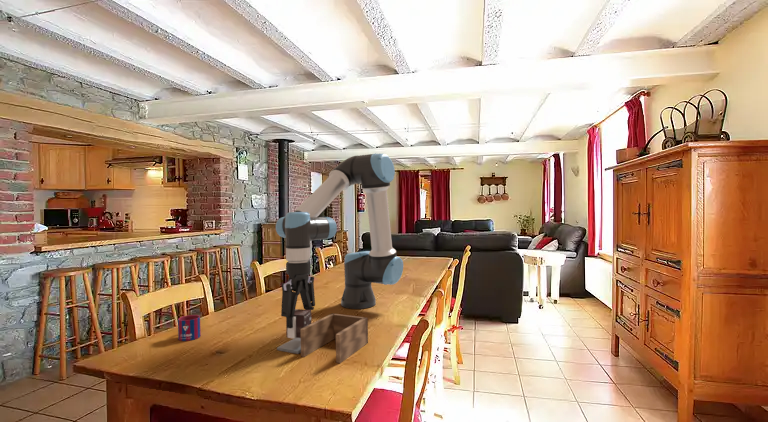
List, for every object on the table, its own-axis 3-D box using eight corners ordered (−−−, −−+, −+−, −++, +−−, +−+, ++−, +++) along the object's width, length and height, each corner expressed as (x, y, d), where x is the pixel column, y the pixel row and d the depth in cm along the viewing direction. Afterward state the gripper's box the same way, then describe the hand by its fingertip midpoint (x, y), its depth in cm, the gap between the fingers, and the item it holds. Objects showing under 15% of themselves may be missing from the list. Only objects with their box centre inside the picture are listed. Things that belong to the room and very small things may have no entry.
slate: (301, 337, 128) (301, 334, 128) (321, 340, 125) (321, 338, 125) (277, 350, 117) (277, 347, 117) (298, 353, 114) (298, 351, 114)
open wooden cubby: (332, 337, 128) (332, 313, 127) (368, 342, 122) (367, 317, 122) (300, 356, 112) (300, 329, 112) (339, 363, 106) (339, 334, 106)
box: (304, 339, 117) (303, 315, 117) (285, 337, 118) (285, 314, 118) (312, 332, 123) (311, 309, 123) (294, 331, 124) (294, 308, 124)
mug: (175, 341, 126) (174, 321, 126) (186, 331, 136) (186, 312, 136) (196, 340, 127) (195, 320, 126) (206, 330, 137) (206, 311, 136)
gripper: (307, 256, 131) (308, 323, 131) (267, 265, 113) (268, 342, 113) (325, 257, 128) (326, 326, 128) (287, 266, 110) (288, 346, 110)
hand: (299, 333), depth 121 cm, fingers closed on box, 7 cm apart
